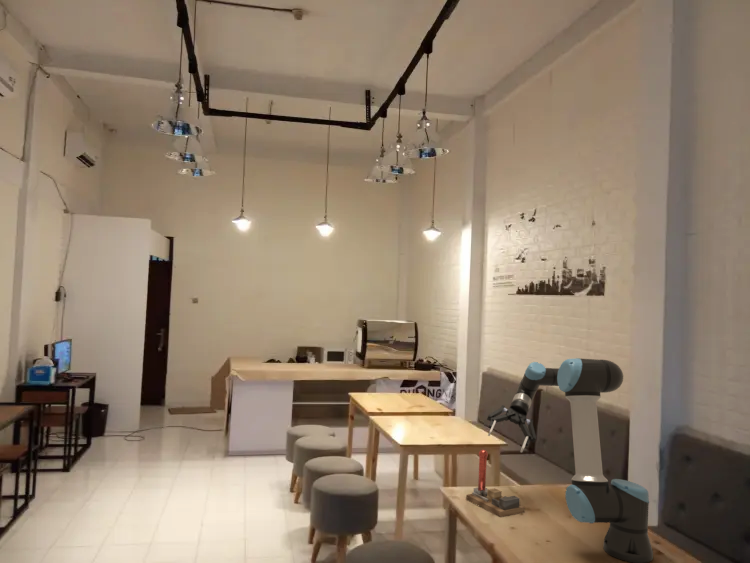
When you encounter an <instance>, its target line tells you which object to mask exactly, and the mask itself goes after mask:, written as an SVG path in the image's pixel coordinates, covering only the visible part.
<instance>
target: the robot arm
mask: <svg viewBox="0 0 750 563" xmlns="http://www.w3.org/2000/svg"><path fill="white" fill-rule="evenodd" d="M623 381H624V374H623V371H622V368H621V367H620V366H619V365H618V364H617V363H615V362H614V361H611V360H607V359H592V358H577V357H576V358H567V359H565V360H563V362H562V363H560V365H559V367H558V368H556V367H554V368H553V367H552V368H550V367H546V366H545V365H544V364H542V363H541V362H540V363H539V362H537V361H533V362H531V363H529V364H528V366H527V368H526V369H525V371H524V375H523V377H522V378H521V381H520V382H519V383H518V386H517V390H516V392H515V394H514V396H513V398H512V401H511V404H510V406H509V408H506V407H505V405H504V404H503V405H501V407H500V408H498V409H496V410H494V411H493V412H491V413H489V414H488V415H487V418H486V420H487V421H489V425H488V428H489V429H490V430H489V432H488V435H487V436H488V437H490V436H491V435H492V434H491V433H492V431H493V429H494V428H495V425H496V423H500V422H504V421H506V422H507V421H509V422H510V423H513V424H515V425H518V427H519V428H520V429H521V431H522V434H523V436H524V437H525V438H524V440H523V443H522V446H521V449H520V451H519V452H520V453H523V451H524V449H525V447H529V444H530V442H531V443H535V441H536V439H537V435H536V431H535V428H534V419H532V418H530V419H528V418H527V416H528V413H529V410H530V408H531V405H532V403H533V399H534V398H535V395H536V393H537V392H538V389H539V387H540V386H543V387H558V389H559V390H560V391H561V392H563V393H564V395H565V399H566V400H568V401H569V403H570V416H571V429H572V440H573V441H572V442H573V443H572V444H573V456H574V457H573V458H574V468H575V473H574V475H573V476H572V478H571V484H569V485H568V486H567V487H566V491H565V492H564V493H565V503H566V506H567V508H568V510H569V512H570V514H571V516H572V518H574V519H575V520H576V521H578V522H579V523H589V524H594V523H599V524H600V523H603V524H604V523H607V524H608V523H609V527H608V529H607V531H606V534H605V536H604V539H603V546H602V547H603V548H602V549H603V550H604V552H605V553H607V554H608V555H610V556H611V557H613V558H616V559H619V560H622V561H624V562H628V563H650V562H652V561H653V559H654V558H653V557H654V551H653V548H652V544H651V541H650V537H649V532H648V531H649V506H650V498H649V497H650V495H649V491H648V489H647V488H645V487H644V486H643V485H640V484H639V483H636V482H632V481H629V480H626V479H619V478H613V479H611V481H610V484H609V480H608V479H607V478H606V477H605V475H604V474H603V473H604V472H603V471H604V470H603V462H602V451H601V450H602V449H601V443H600V442H601V441H600V440H601V439H600V429H599V417H598V405H597V402H598V401H599V400H600V399H601V393H604V394H605V393H610V392H611V393H612V392H614V391H616V390H618V389H619V388H620V387H621V386H622V384H623ZM503 413H505V414H503ZM501 414H502V415H501ZM526 425H527V426H526Z"/></svg>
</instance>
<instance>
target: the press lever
mask: <svg viewBox="0 0 750 563" xmlns="http://www.w3.org/2000/svg"><path fill="white" fill-rule="evenodd" d="M488 456H489V454H488V451H487V450H486V449H481V450H479V451H478V457H479V459H478V460H479V461H478V462H479V463H478V465H479V466H478V479H477V480H478V482H477V483H478V486H477V487H474V488H473V492H475V493H477V494H479V495H481V496H484V497H486V498H487V489H488V488H487V487H486V483H487V481H486V480H487V460H488V459H487V458H488Z"/></svg>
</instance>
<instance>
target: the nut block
mask: <svg viewBox="0 0 750 563" xmlns="http://www.w3.org/2000/svg"><path fill="white" fill-rule="evenodd" d="M502 493H503V492H502V491H501V490H500V489H497V488H496V487H492V488H487V499H489V501H491V502H492V499H493V498H494V499H496V500H499V498H501V496H502Z"/></svg>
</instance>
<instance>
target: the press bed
mask: <svg viewBox="0 0 750 563" xmlns="http://www.w3.org/2000/svg"><path fill="white" fill-rule="evenodd" d="M465 496H466V497H465V500H466V499H467V500H466V501H468V500H469V501H468V502H470V501H471V502H470V503H472V502H473V503H472V504H474V503H475V504H474V505H476V504H477V505H476V506H478V505H479V506H478V507H480V506H481V507H482V509H483V508H484V510H485V509H486V510H485V511H487V512H489V511H490V512H489V513H491V514H493V515H495V516H497V517H500V518H503V517H509V516H513V515H518V514H522V513H525V512H526V511H525V510H526V508H525V506H524V505H522V504H520V503H521V502H520V499H521V497H518V496H516V495H510V496H506V495H505V496H504V495H503V496H502V495H501V498H499V500H496V499H494V498H493V499H492V502H491V501H489V499H487V498H486V497H484V496H481V495H479V494H477V493H475V492H474V491H473V492H471V493H468V494H466V495H465ZM481 507H480V508H481Z"/></svg>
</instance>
